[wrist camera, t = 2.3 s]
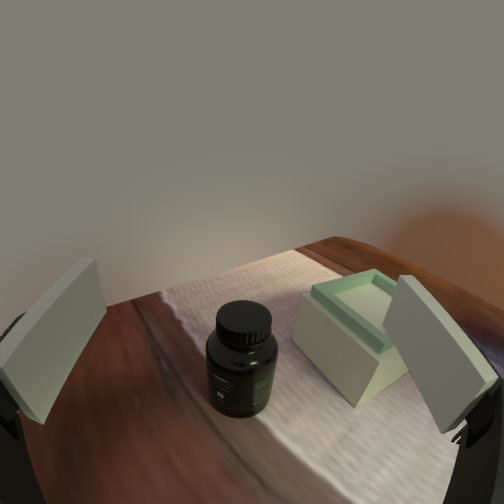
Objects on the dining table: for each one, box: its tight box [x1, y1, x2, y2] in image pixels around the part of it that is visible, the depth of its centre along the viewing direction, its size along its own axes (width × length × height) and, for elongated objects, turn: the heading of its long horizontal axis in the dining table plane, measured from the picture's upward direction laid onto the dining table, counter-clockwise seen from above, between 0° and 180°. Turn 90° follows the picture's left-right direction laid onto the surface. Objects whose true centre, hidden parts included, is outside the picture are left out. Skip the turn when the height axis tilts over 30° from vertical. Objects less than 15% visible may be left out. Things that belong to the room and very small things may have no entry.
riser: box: [292, 269, 409, 408], centre depth 33 cm, size 14×14×10 cm
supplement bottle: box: [206, 300, 278, 418], centre depth 26 cm, size 7×7×12 cm
